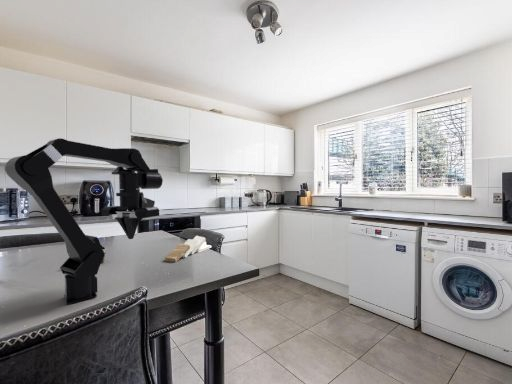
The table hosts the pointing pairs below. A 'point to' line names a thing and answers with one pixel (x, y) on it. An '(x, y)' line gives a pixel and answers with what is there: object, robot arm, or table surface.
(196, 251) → the domino
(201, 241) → the domino
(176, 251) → the domino
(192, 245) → the domino
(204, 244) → the domino
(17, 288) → the table surface
